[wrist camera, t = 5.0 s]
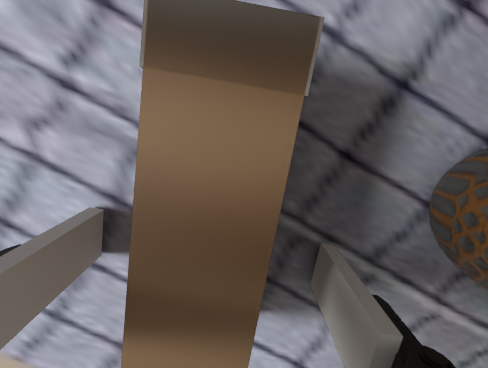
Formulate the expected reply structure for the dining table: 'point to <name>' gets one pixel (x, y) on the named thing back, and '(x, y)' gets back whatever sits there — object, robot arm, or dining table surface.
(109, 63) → the dining table surface
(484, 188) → the vase
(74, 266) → the robot arm
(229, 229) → the brown wooden block
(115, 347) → the dining table surface
